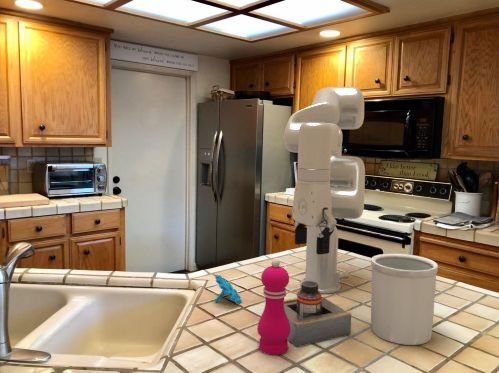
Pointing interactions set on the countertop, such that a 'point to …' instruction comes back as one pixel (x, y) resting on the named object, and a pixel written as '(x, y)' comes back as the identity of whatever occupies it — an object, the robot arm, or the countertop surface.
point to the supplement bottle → (309, 300)
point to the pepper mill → (274, 311)
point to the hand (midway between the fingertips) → (311, 248)
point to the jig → (317, 323)
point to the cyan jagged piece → (227, 290)
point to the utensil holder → (403, 298)
